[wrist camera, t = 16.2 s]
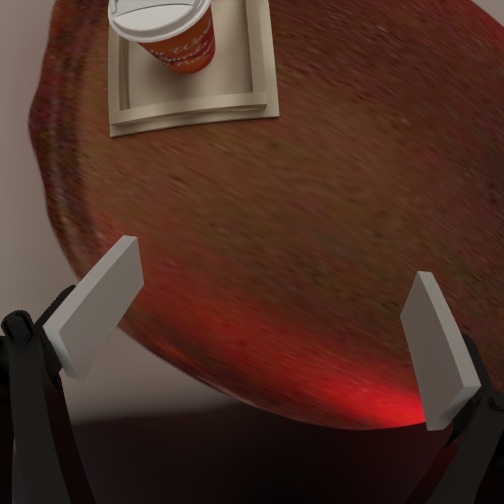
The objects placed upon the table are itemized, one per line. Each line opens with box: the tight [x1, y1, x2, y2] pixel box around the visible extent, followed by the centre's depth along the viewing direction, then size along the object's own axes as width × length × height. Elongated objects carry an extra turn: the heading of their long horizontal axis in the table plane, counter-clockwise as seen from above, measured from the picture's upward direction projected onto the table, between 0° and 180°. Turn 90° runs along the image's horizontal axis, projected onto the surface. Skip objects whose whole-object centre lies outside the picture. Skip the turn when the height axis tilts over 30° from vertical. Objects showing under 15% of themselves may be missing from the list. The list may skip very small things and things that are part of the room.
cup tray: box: [108, 0, 279, 137], centre depth 28 cm, size 18×17×4 cm
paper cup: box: [108, 0, 215, 74], centre depth 22 cm, size 8×8×14 cm
